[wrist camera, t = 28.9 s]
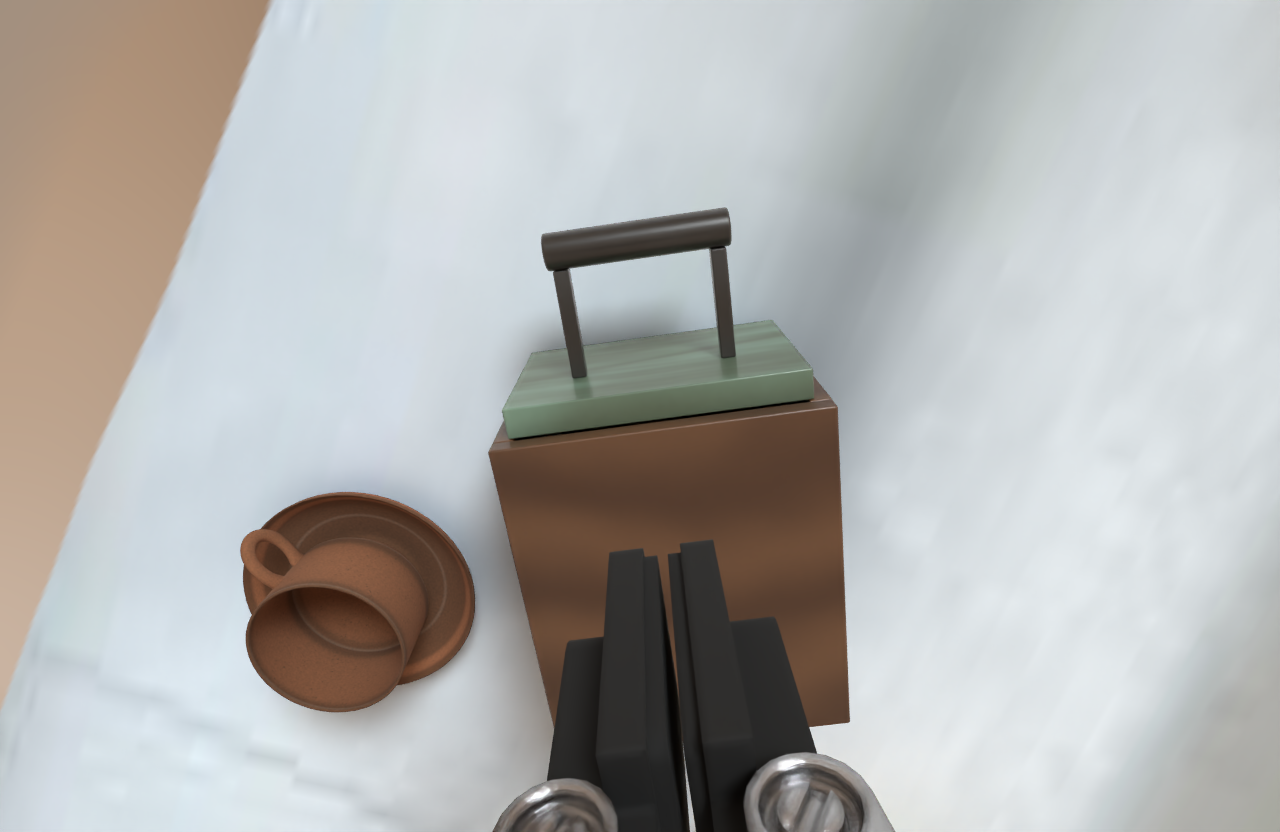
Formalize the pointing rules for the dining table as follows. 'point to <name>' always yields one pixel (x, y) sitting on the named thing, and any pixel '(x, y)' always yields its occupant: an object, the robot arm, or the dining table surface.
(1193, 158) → the dining table surface
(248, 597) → the cup and saucer
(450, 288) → the dining table surface
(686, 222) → the drawer
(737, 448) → the cabinet
